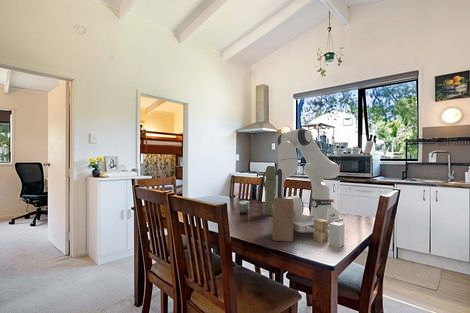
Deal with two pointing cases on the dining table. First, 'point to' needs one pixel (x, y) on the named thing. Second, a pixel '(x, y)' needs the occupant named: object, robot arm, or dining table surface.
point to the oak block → (321, 230)
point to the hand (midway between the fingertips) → (322, 229)
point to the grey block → (336, 234)
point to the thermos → (269, 189)
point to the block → (283, 219)
